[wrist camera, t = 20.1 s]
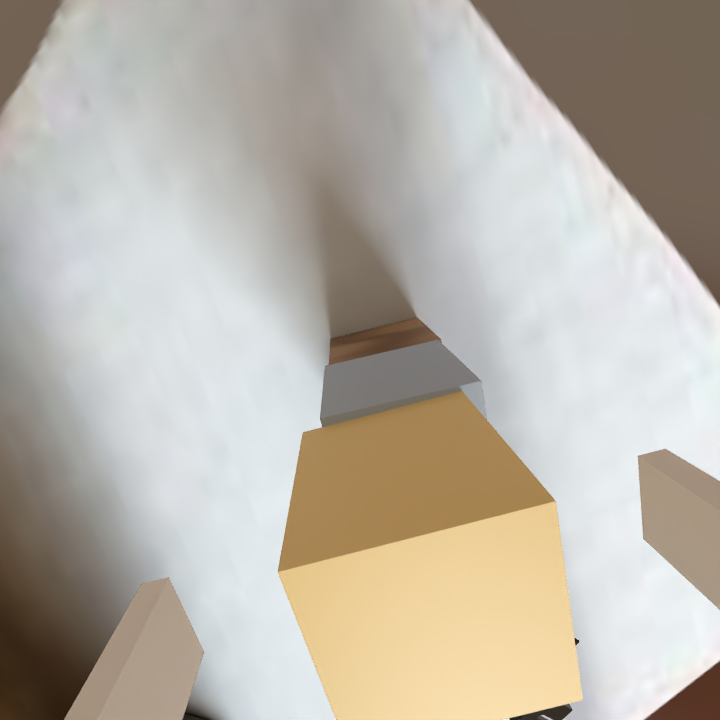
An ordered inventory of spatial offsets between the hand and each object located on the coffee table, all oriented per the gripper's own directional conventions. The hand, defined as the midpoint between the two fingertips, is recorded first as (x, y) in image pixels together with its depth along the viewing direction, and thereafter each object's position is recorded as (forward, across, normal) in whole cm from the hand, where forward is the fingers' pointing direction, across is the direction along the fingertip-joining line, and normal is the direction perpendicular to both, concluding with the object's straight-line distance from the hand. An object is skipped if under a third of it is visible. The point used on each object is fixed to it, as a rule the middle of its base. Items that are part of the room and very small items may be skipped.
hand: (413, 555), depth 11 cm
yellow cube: (+3, 0, 0) cm, 3 cm away
